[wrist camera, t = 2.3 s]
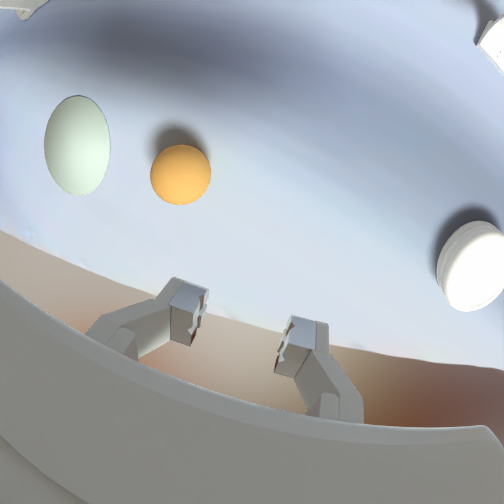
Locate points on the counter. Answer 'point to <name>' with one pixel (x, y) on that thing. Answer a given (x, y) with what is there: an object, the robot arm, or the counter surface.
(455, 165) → the counter surface
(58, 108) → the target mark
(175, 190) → the ball
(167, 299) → the robot arm
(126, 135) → the counter surface
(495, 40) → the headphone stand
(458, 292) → the white round disc
